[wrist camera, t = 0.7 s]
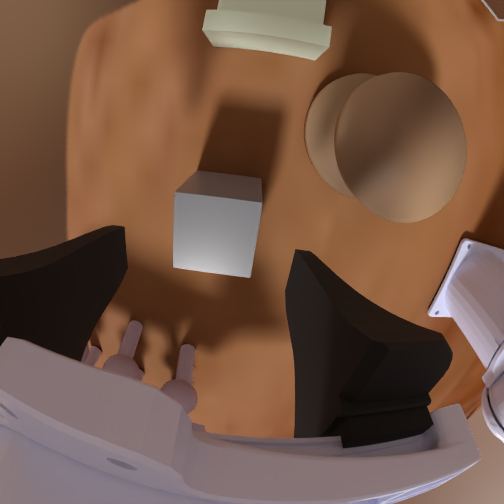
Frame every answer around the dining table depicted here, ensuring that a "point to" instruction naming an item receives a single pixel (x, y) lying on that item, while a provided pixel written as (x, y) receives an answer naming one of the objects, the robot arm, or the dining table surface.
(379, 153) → the tan rounded lump
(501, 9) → the food container
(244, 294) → the dining table surface
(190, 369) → the toy sheep
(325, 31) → the pale green flanged block
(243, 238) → the gray metal block
